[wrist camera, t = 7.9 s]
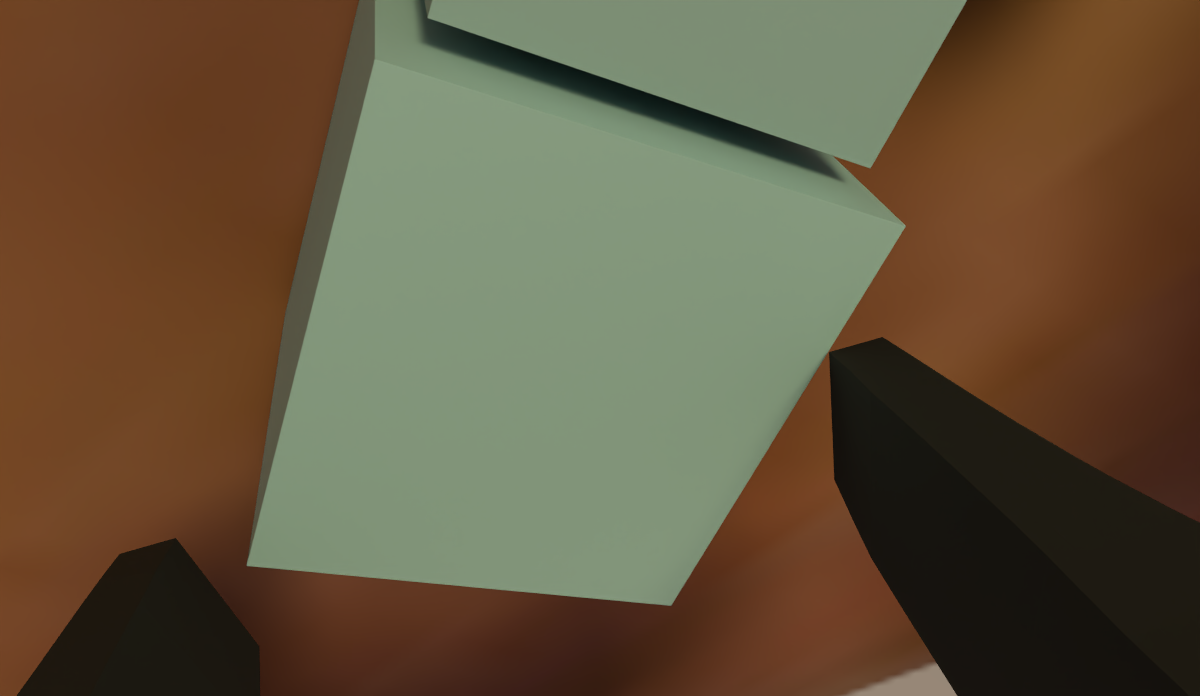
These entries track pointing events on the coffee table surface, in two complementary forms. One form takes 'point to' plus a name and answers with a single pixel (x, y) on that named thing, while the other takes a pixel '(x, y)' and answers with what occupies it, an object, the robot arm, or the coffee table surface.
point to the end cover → (573, 280)
